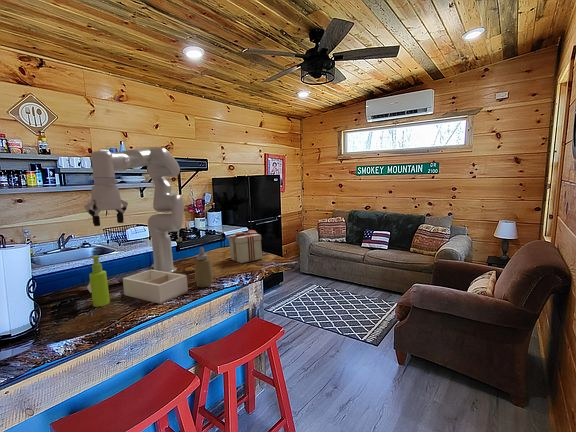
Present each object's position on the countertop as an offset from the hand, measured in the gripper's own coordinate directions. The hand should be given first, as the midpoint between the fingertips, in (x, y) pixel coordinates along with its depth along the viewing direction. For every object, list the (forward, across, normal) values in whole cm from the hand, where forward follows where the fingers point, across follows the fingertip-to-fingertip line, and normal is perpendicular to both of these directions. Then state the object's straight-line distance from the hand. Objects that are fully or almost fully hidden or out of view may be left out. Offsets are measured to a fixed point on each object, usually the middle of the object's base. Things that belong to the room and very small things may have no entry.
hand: (109, 224), depth 125 cm
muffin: (+32, -1, -17) cm, 36 cm away
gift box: (+31, -72, +12) cm, 80 cm away
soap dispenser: (+32, +5, -2) cm, 33 cm away
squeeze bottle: (+32, -27, +23) cm, 48 cm away
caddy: (+32, -12, +10) cm, 35 cm away
